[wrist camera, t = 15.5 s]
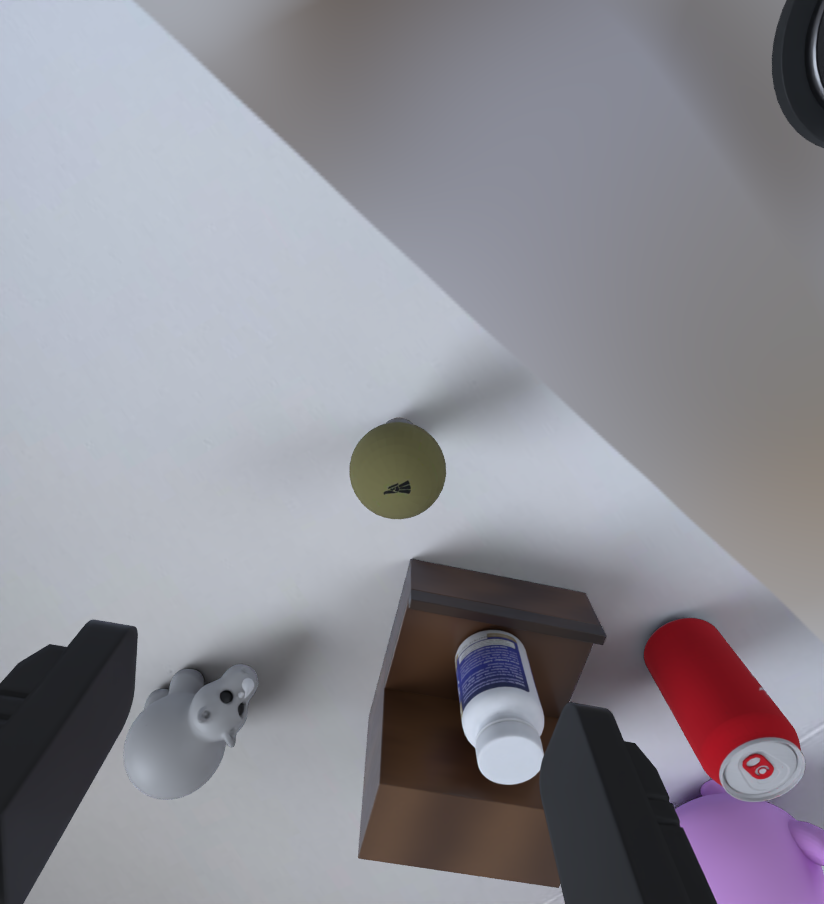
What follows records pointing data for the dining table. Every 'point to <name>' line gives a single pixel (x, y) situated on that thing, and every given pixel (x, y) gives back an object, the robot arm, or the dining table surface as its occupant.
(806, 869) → the teapot
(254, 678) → the chubby cartoon animal
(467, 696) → the pill bottle
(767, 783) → the beverage can
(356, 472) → the light bulb
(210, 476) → the dining table surface
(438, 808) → the rack
